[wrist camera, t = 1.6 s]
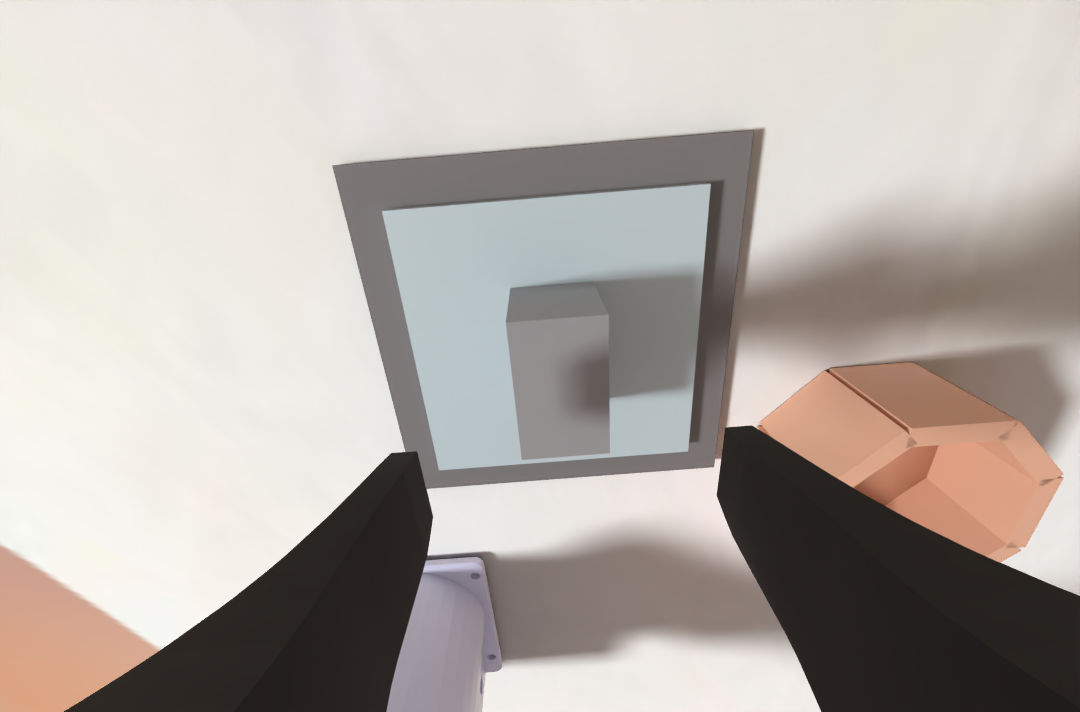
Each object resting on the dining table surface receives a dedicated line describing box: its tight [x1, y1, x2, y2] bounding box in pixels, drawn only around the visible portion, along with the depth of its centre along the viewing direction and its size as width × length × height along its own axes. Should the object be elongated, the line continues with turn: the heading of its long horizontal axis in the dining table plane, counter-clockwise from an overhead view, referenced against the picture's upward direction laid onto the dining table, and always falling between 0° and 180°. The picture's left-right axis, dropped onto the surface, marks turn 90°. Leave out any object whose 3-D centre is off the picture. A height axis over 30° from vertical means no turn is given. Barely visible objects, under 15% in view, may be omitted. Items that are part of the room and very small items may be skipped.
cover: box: [382, 183, 711, 470], centre depth 16 cm, size 11×11×4 cm
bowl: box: [757, 362, 1063, 562], centre depth 19 cm, size 9×9×4 cm
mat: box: [333, 130, 754, 489], centre depth 18 cm, size 14×14×1 cm
